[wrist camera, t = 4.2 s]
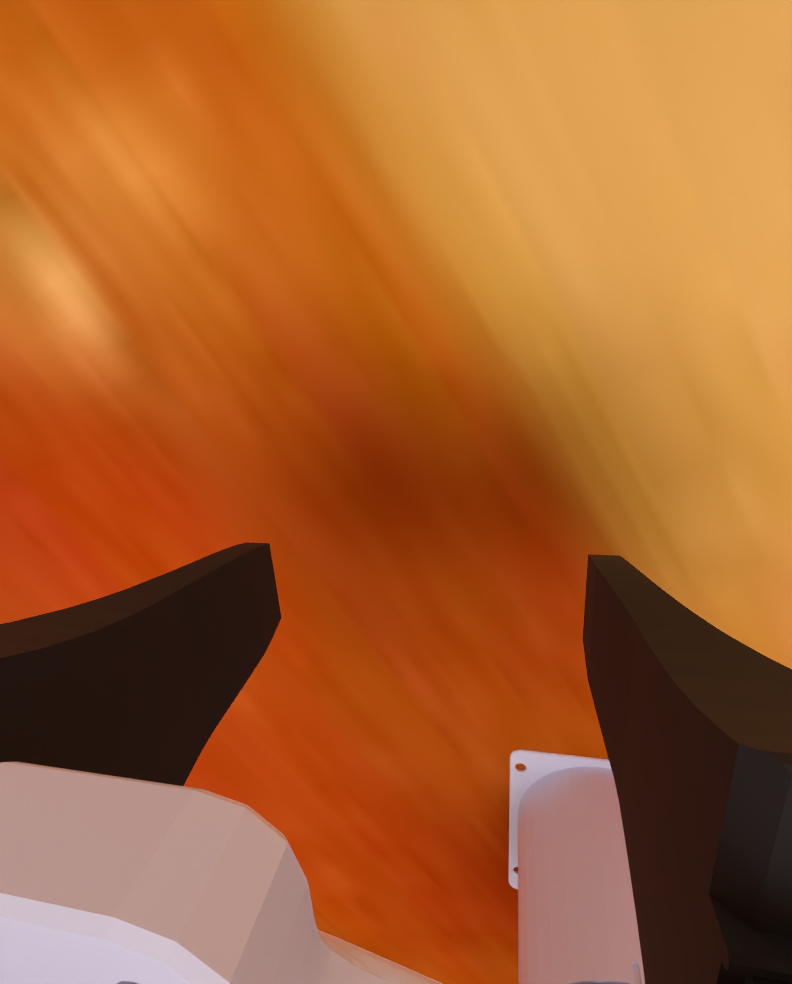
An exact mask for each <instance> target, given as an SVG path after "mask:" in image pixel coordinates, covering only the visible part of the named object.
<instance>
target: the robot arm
mask: <svg viewBox="0 0 792 984" xmlns="http://www.w3.org/2000/svg"><path fill="white" fill-rule="evenodd" d="M280 619H281V613H280V607H279V601H278V594H277V588H276V582H275V576H274V570H273V563H272V557H271V551H270V545H269V544H268V543H243V544H239V545H236V546H232V547H230V548H227V549H224V550H221V551H219V552H216V553H214V554H211V555H209V556H207V557H204V558H202V559H199V560H197V561H195V562H192V563H190V564H188V565H185V566H183V567H181V568H178V569H176V570H174V571H171V572H169V573H166V574H164V575H161V576H159V577H156V578H154V579H151V580H148V581H146V582H143V583H141V584H138V585H136V586H133V587H131V588H128V589H126V590H123V591H120V592H117V593H114V594H111V595H108V596H105V597H103V598H99V599H96V600H93V601H90V602H87V603H83V604H80V605H77V606H73V607H70V608H66V609H63V610H59V611H55V612H50V613H46V614H42V615H38V616H34V617H30V618H26V619H22V620H18V621H14V622H9V623H4V624H0V984H443V983H441V982H438V981H436V980H434V979H432V978H429V977H427V976H425V975H422V974H420V973H418V972H415V971H413V970H411V969H409V968H406V967H404V966H402V965H399V964H397V963H395V962H393V961H390V960H388V959H386V958H383V957H381V956H379V955H376V954H374V953H372V952H370V951H367V950H365V949H363V948H360V947H358V946H356V945H353V944H351V943H349V942H347V941H344V940H342V939H340V938H337V937H335V936H333V935H330V934H328V933H325V932H323V931H320V930H318V928H317V926H316V923H315V919H314V914H313V908H312V902H311V897H310V891H309V885H308V881H307V879H306V877H305V875H304V873H303V871H302V869H301V867H300V865H299V863H298V861H297V859H296V857H295V855H294V853H293V851H292V849H291V847H290V845H289V843H288V841H287V839H286V837H285V835H284V834H283V833H281V832H280V831H279V830H278V829H276V828H275V827H274V826H273V825H272V824H270V823H269V822H268V821H267V820H265V819H264V818H263V817H262V816H260V815H259V814H258V813H257V812H256V811H254V810H253V809H252V808H251V807H249V806H248V805H246V804H244V803H241V802H238V801H235V800H232V799H229V798H226V797H224V796H221V795H218V794H215V793H212V792H209V791H207V790H204V789H198V788H192V787H185V786H183V785H184V783H185V782H186V780H187V778H188V776H189V774H190V772H191V770H192V768H193V766H194V764H195V762H196V761H197V759H198V757H199V755H200V753H201V751H202V749H203V747H204V746H205V744H206V742H207V741H208V739H209V738H210V736H211V734H212V733H213V731H214V729H215V728H216V726H217V725H218V723H219V722H220V720H221V719H222V717H223V716H224V714H225V713H226V711H227V710H228V708H229V707H230V705H231V704H232V702H233V701H234V699H235V698H236V696H237V695H238V693H239V692H240V690H241V689H242V687H243V686H244V684H245V683H246V681H247V680H248V678H249V677H250V675H251V674H252V672H253V671H254V669H255V668H256V666H257V665H258V663H259V662H260V660H261V658H262V657H263V655H264V654H265V652H266V650H267V648H268V646H269V644H270V642H271V640H272V638H273V635H274V633H275V631H276V628H277V626H278V624H279V622H280ZM583 643H584V652H585V660H586V668H587V676H588V681H589V685H590V689H591V693H592V697H593V701H594V705H595V709H596V712H597V716H598V720H599V724H600V728H601V731H602V735H603V739H604V743H605V746H606V750H607V754H608V758H609V759H601V758H592V757H583V756H575V755H566V754H557V753H548V752H539V751H530V750H522V749H519V750H514V751H513V752H512V753H511V754H510V796H509V884H510V885H511V886H512V887H513V888H515V889H518V983H519V984H792V669H790V668H787V667H785V666H783V665H781V664H779V663H777V662H775V661H773V660H772V659H770V658H768V657H766V656H764V655H762V654H760V653H758V652H757V651H755V650H753V649H751V648H750V647H748V646H746V645H744V644H742V643H741V642H739V641H737V640H735V639H734V638H732V637H730V636H728V635H727V634H725V633H724V632H722V631H720V630H719V629H717V628H716V627H714V626H713V625H711V624H710V623H708V622H707V621H705V620H704V619H702V618H701V617H699V616H698V615H696V614H695V613H693V612H692V611H690V610H689V609H688V608H686V607H685V606H683V605H682V604H681V603H679V602H678V601H677V600H675V599H674V598H673V597H671V596H670V595H669V594H667V593H666V592H665V591H664V590H662V589H661V588H660V587H658V586H657V585H656V584H655V583H653V582H652V581H651V580H650V579H648V578H647V577H646V576H645V575H644V574H642V573H641V572H640V571H639V570H637V569H636V568H635V567H634V566H633V565H631V564H630V563H629V562H628V561H626V560H625V559H624V558H622V557H621V556H614V555H588V568H587V583H586V598H585V613H584V628H583ZM519 763H521V764H524V765H525V766H526V769H524V770H519V769H517V768H516V767H515V765H516V764H519ZM515 867H518V872H517V871H515V870H514V868H515Z"/></svg>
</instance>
